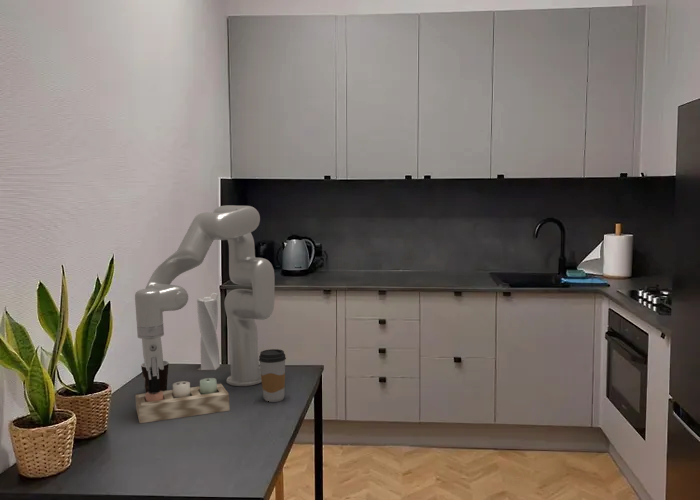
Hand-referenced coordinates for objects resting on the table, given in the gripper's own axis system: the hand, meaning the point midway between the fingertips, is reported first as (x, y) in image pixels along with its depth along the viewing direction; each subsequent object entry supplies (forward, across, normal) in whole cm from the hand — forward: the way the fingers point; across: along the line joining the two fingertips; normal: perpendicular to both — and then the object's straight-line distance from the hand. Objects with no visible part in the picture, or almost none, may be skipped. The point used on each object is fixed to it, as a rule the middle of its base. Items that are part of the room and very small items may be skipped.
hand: (154, 391), depth 219 cm
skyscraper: (+8, +44, -24) cm, 51 cm away
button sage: (+4, 0, -16) cm, 16 cm away
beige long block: (+7, 0, -8) cm, 10 cm away
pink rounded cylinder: (+5, 0, 0) cm, 5 cm away
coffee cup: (+7, -1, -36) cm, 37 cm away
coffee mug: (+7, +22, -3) cm, 23 cm away
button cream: (+4, 0, -8) cm, 9 cm away
